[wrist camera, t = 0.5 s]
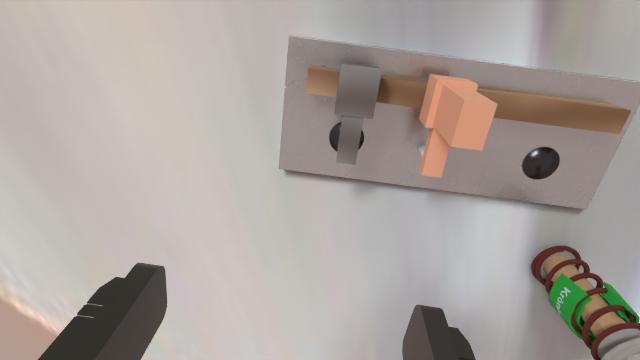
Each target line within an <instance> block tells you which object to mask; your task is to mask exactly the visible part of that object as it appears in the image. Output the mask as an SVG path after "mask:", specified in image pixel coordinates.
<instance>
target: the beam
mask: <svg viewBox="0 0 640 360" xmlns="http://www.w3.org/2000/svg"><path fill="white" fill-rule="evenodd" d="M381 73H382V71H381V69H380V68H379V67H377V66H370V65H362V64H354V63H347V62H341V65H340V68H332V67H324V66H317V65H310V66H309V68H308V77H307V87H306V93H309V94H316V95H324V96H332V97H336V102H335V111H334V114H337V115H343V116H342V123H341V130H340V137H339V143H338V150H337V157H336V163H344V164H351V165H356V159H357V154H358V148H359V142H360V136H361V131H362V125H363V119H364V118H367V119H373V116H374V111H375V105H376V102H377V103H385V104H392V105H400V106H407V107H415V108H422V105H423V100H424V96H425V92H426V88H427V84H428V80H423V79H415V78H408V77H400V76H393V75H385V74H381ZM477 92H478V93H480V94H481V95H483V96H485V97H487V98H488V99H490V100H492V101H493V102H495V103H497V104H498V105H497V108H496V111H495V114H494V117H493V118H498V119H506V120H514V121H521V122H529V123H536V124H544V125H552V126H559V127H567V128H574V129H582V130H589V131H597V132H605V133H612V134H620V133H621V131H622V129H623V127H624V125H625V123H626V121H627V119H628V117H629V115H630V113H631V110H628V109H625V108H622V107H619V106H616V105H612V104H605V103H597V102H590V101H582V100H574V99H567V98H559V97H552V96H544V95H537V94H529V93H521V92H514V91H506V90H499V89H491V88H484V87H478V89H477Z"/></svg>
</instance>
